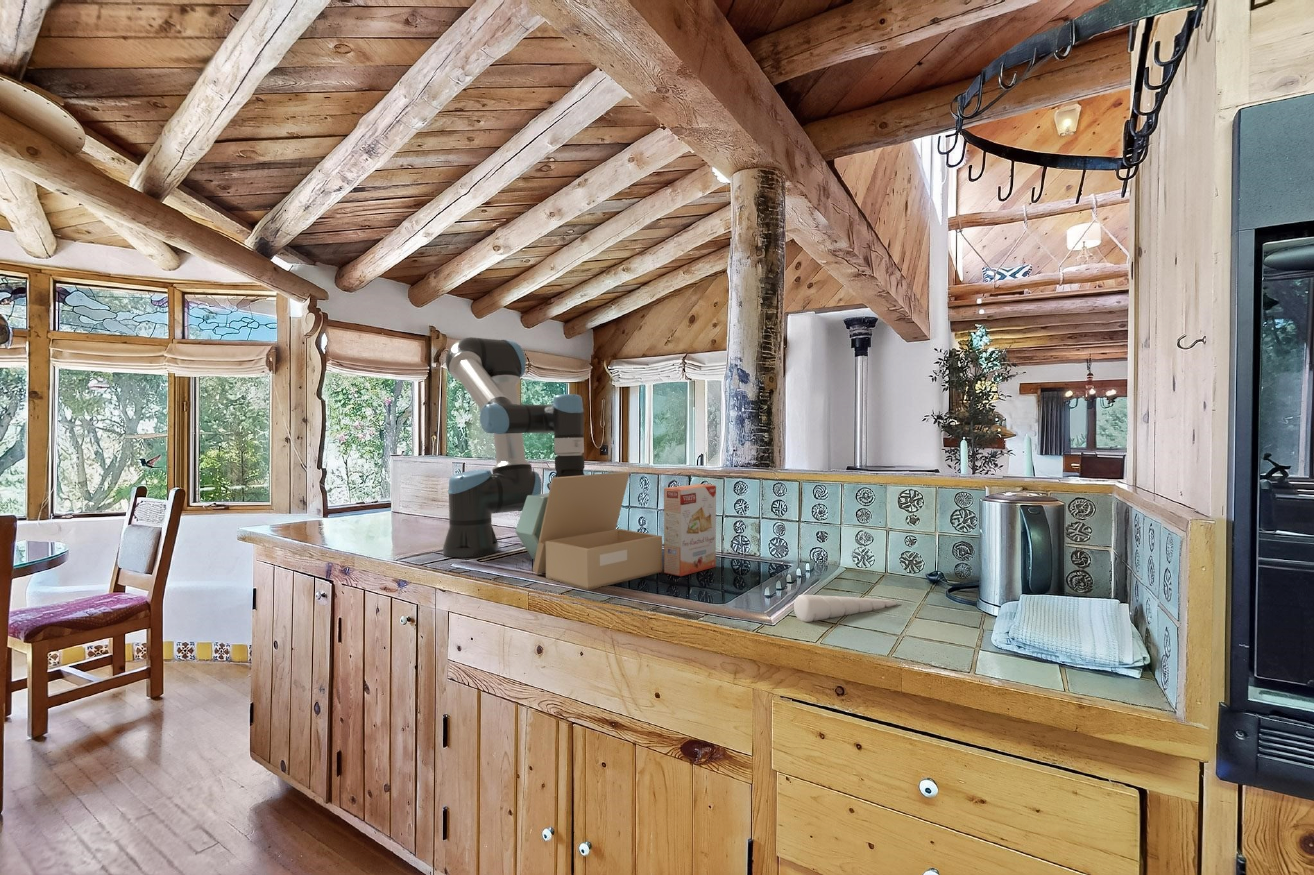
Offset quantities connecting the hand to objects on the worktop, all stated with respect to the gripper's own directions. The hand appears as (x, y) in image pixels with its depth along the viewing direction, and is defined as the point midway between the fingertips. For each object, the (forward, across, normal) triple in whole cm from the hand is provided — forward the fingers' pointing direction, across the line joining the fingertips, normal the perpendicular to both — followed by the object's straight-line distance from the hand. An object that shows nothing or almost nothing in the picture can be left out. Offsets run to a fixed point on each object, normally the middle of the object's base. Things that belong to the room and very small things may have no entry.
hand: (571, 546), depth 154 cm
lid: (-7, 0, -6) cm, 9 cm away
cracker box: (+6, +18, -25) cm, 31 cm away
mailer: (+5, 0, -13) cm, 14 cm away
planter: (+5, +3, +12) cm, 13 cm away
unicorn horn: (+7, +13, -69) cm, 71 cm away
